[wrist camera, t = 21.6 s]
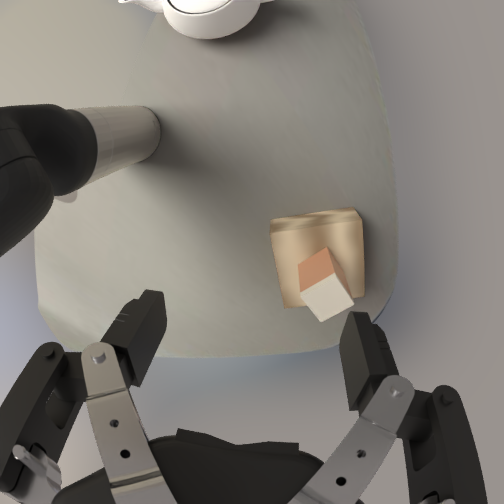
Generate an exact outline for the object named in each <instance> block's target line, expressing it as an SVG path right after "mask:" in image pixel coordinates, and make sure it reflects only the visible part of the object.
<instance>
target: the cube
mask: <svg viewBox="0 0 504 504" xmlns="http://www.w3.org/2000/svg"><path fill="white" fill-rule="evenodd" d="M298 274H299V285H300V296H301V298H302V300H303V301H304V302H305V303H306V305H307V306H308V307H309V308H310V310H311V311H312V312H313V313H314V314H315V316H316V317H317V318H318V319H319V321H320V322H323V321H325V320H327V319H328V318H330V317H332V316H334V315H336V314H338V313H340V312H342V311H343V310H345V309H347V308H349V307H351V306H352V305H354V301H353V298H352V295H351V292H350V289H349V286H348V283H347V280H346V277H345V274H344V271H343V270H342V268H341V267H340V265H339V264H338V262H337V261H336V259H335V258H334V256H333V255H332V253H331V252H330V250H329V249H328V248H327V247H326V248H324V249H322V250H321V251H319V252H318V253H316V254H314V255H313V256H311V257H309V258H308V259H306V260H305V261H303V262H301V263H300V264H298Z"/></svg>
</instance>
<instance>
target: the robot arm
mask: <svg viewBox="0 0 504 504" xmlns="http://www.w3.org/2000/svg"><path fill="white" fill-rule="evenodd" d="M160 135H161V130H160V124H159V121H158V119H157V117H156V116H155V115H154V113H153V112H152V111H150V110H149V109H148V108H145V107H142V106H108V107H90V108H79V109H68V110H65V109H63V108H61V107H59V106H57V105H53V104H38V105H19V106H7V107H0V257H1V256H2V255H4V254H5V253H6V252H7V251H9V250H10V249H11V248H12V247H14V246H15V245H16V244H17V243H18V242H20V241H21V240H22V239H23V238H24V237H25V236H27V235H28V234H29V233H30V232H31V231H32V230H33V229H34V228H35V227H36V226H37V225H38V224H39V223H40V222H41V221H42V220H43V218H44V217H45V216H46V215H47V213H48V212H49V210H50V208H51V206H52V203H53V200H54V196H62V195H66V194H69V193H71V192H73V191H75V190H77V189H79V188H81V187H83V186H85V185H87V184H89V183H91V182H94V181H96V180H98V179H100V178H102V177H104V176H106V175H109V174H111V173H113V172H115V171H118V170H120V169H122V168H125V167H127V166H130V165H132V164H135V163H137V162H140V161H142V160H144V159H146V158H148V157H149V156H150V155H152V153H153V152H154V151H155V150H156V148H157V146H158V144H159V141H160ZM166 327H167V316H166V308H165V300H164V294H163V292H160V291H154V290H147V289H146V290H145V291H144V292H143V294H142V295H141V296H140V298H139V299H133V300H131V301H130V302H128V303H127V304H126V305H125V306H124V307H123V308H122V310H121V311H120V314H118V316H117V317H116V319H115V320H114V321H113V323H112V324H111V326H110V327H109V329H108V330H107V332H106V333H105V335H104V336H103V338H102V339H101V341H100V342H97V343H93V344H90V345H89V346H87V347H86V348H85V349H84V350H83V352H64V350H63V347H62V346H61V345H60V344H59V343H56V342H48V343H45V344H43V345H41V346H40V347H39V348H38V349H37V350H36V352H35V353H34V354H33V356H32V357H31V359H30V360H29V362H28V363H27V365H26V366H25V368H24V369H23V371H22V373H21V374H20V375H19V377H18V379H17V380H16V382H15V383H14V385H13V387H12V388H11V390H10V392H9V393H8V395H7V397H6V398H5V400H4V402H3V403H2V405H1V407H0V492H2V493H4V494H5V495H7V496H9V497H10V498H12V499H14V500H16V501H17V502H19V503H21V504H364V503H363V502H362V501H361V500H360V499H359V497H360V496H361V494H362V493H363V492H364V490H365V489H366V487H367V485H368V484H369V483H370V481H371V480H372V478H373V477H374V475H375V474H376V472H377V470H378V469H379V467H380V466H381V464H382V462H383V461H384V459H385V457H386V455H387V454H388V452H389V450H390V449H391V447H392V445H393V443H394V441H395V439H396V438H401V439H402V440H403V447H404V454H405V461H406V469H407V478H408V487H409V498H410V504H488V502H487V496H486V491H485V485H484V480H483V475H482V470H481V466H480V462H479V457H478V453H477V450H476V446H475V442H474V439H473V435H472V432H471V428H470V425H469V422H468V419H467V416H466V413H465V409H464V407H463V404H462V401H461V398H460V396H459V394H458V392H457V391H456V390H455V389H454V388H452V387H450V386H447V385H441V386H438V387H436V388H435V390H434V391H433V392H432V393H429V392H424V391H419V390H415V389H414V387H413V385H412V383H411V382H410V381H409V380H408V379H406V378H404V377H402V376H399V373H398V370H397V367H396V364H395V361H394V358H393V355H392V352H391V350H390V347H389V344H388V343H387V338H386V336H385V333H384V331H383V330H382V329H381V328H380V327H379V326H378V325H377V324H372V323H371V320H370V318H369V315H368V313H367V312H354V311H351V312H350V313H349V314H348V317H347V320H346V323H345V326H344V329H343V332H342V335H341V338H340V345H339V349H340V355H341V362H342V366H343V372H344V379H345V385H346V391H347V398H348V403H349V411H355V410H358V411H359V419H358V420H357V421H356V423H355V424H354V426H353V427H352V428H351V430H350V431H349V433H348V434H347V435H346V437H345V438H344V439H343V441H342V442H341V443H340V445H339V446H338V447H337V448H336V450H335V451H334V452H333V453H332V455H331V456H330V457H329V458H328V460H327V461H326V462H325V463H324V462H323V461H321V460H320V459H318V458H317V457H315V456H313V455H311V454H309V453H305V452H303V451H299V443H286V442H269V441H268V442H261V443H253V444H243V445H235V444H232V443H229V442H227V441H224V440H221V439H219V438H216V437H213V436H211V435H208V434H205V433H199V432H194V431H189V430H184V429H179V428H178V430H177V434H176V435H171V436H164V437H159V438H156V439H153V440H149V438H148V435H147V433H146V431H145V429H144V427H143V424H142V422H141V419H140V417H139V415H138V412H137V409H136V407H135V404H134V402H133V399H132V396H131V394H130V391H129V388H130V386H131V385H134V386H137V387H140V385H141V384H142V381H143V379H144V377H145V375H146V372H147V370H148V368H149V366H150V364H151V362H152V359H153V357H154V355H155V353H156V351H157V348H158V346H159V344H160V342H161V340H162V338H163V336H164V334H165V331H166ZM52 391H53V392H52ZM51 393H52V394H51ZM83 402H86V404H87V408H88V413H89V417H90V421H91V424H92V428H93V432H94V435H95V439H96V442H97V446H98V448H99V452H100V455H101V458H102V461H103V464H104V467H103V468H102V469H100V470H98V471H96V472H94V473H92V474H91V475H89V476H87V477H85V478H83V479H81V480H79V481H77V482H75V483H73V484H71V485H69V486H67V487H65V488H63V489H62V490H61V486H60V485H61V484H62V481H61V471H60V468H59V466H58V465H57V463H58V460H59V458H60V455H61V452H62V450H63V448H64V445H65V443H66V440H67V438H68V436H69V433H70V431H71V429H72V426H73V424H74V422H75V419H76V417H77V415H78V413H79V410H80V408H81V406H82V404H83Z"/></svg>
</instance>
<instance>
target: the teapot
mask: <svg viewBox="0 0 504 504" xmlns="http://www.w3.org/2000/svg"><path fill="white" fill-rule="evenodd" d="M228 1H229V0H119V2H120V3H134V4H138V5H140V6H142V7H144V8H146V9H148V10H150V11H153V12H159V13H164V14H165V17H166V19H167V20H168V22H169V24H170V25H171V26H172V27H173V28H174V29H175V30H177V31H178V32H180V33H181V34H183V35H186V36H188V37H192V38H197V39H214V38H220V37H224V36H227V35H230V34H232V33H234V32H237V31H238V30H240V29H241V28H243V27H244V26H246V25H247V24H248V23H249V22H250V21H251V20H252V19H253V17H254V16H255V15H256V13H257V11H258V9H259V6H260V3H264V2H270V1H274V0H231V1H230V2H228ZM227 2H228V3H227ZM225 3H227V4H226V5H224V4H225ZM222 5H224V6H223V7H221V6H222ZM219 7H221V8H219ZM217 8H219V9H217ZM215 9H217V10H215ZM211 10H215V11H212V12H208V11H211ZM203 12H208V13H203ZM200 13H203V14H200Z"/></svg>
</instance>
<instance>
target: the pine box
mask: <svg viewBox="0 0 504 504" xmlns="http://www.w3.org/2000/svg"><path fill="white" fill-rule="evenodd" d="M270 238H271V243H272V248H273V253H274V258H275V263H276V268H277V273H278V278H279V283H280V288H281V293H282V298H283V304H284V309H285V308H292V307H300V306H307V305H306V303H305V302H304V301H303V300H302V298H301V296H300V285H299V274H298V264H300V263H301V262H303V261H305V260H306V259H308V258H309V257H311V256H313V255H314V254H316V253H318V252H319V251H321V250H322V249H324V248H326V247H327V248H328V249H329V250H330V252H331V253H332V255H333V256H334V258H335V259H336V261H337V262H338V264H339V265H340V267H341V268H342V270H343V271H344V274H345V277H346V280H347V283H348V286H349V289H350V292H351V295H352V298H359V297H364V296H365V283H364V246H363V227H362V219H361V218H360V216H359V215H358V213H357V212H356V211H355V209H354V208H353V207H350V208H343V209H336V210H329V211H322V212H316V213H309V214H303V215H296V216H290V217H284V218H277V219H271V224H270Z"/></svg>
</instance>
